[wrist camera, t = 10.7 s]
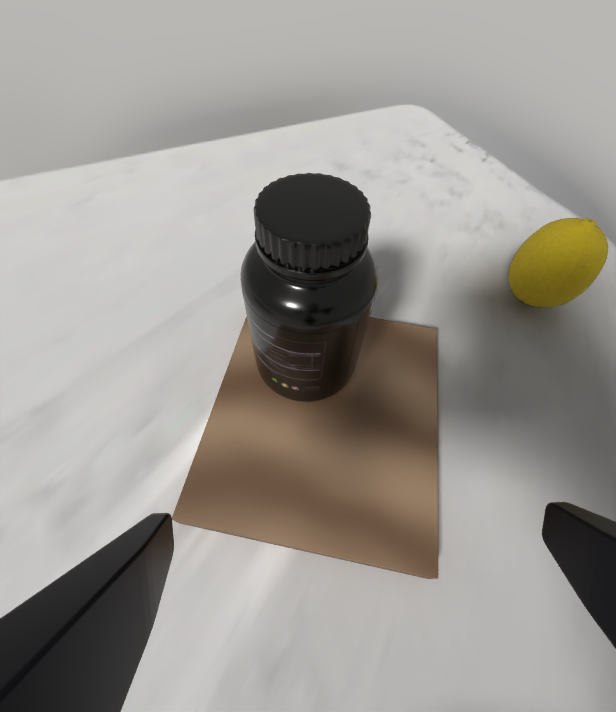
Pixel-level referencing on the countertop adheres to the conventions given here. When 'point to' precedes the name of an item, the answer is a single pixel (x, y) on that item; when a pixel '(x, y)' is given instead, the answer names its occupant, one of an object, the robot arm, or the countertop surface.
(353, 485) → the walnut board
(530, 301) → the lemon
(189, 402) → the countertop surface
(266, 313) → the supplement bottle
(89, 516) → the countertop surface
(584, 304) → the countertop surface
